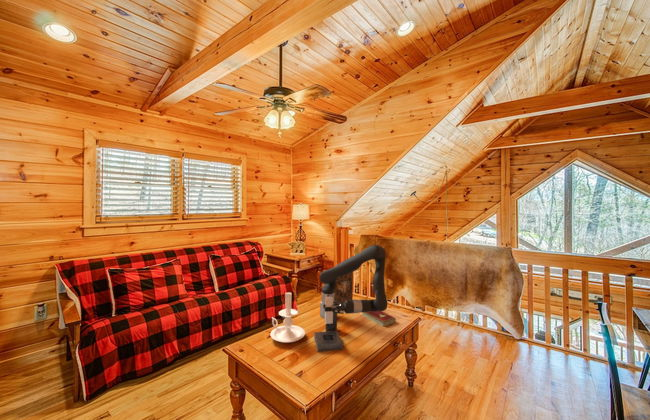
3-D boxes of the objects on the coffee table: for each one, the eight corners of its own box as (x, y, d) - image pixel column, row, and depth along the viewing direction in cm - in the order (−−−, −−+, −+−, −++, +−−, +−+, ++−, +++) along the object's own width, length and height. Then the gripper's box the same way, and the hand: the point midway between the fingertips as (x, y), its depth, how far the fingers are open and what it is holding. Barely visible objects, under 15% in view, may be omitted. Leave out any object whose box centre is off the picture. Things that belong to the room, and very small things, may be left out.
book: (331, 303, 219) (332, 272, 218) (332, 300, 225) (333, 270, 224) (352, 304, 217) (353, 273, 216) (352, 301, 223) (353, 271, 222)
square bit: (325, 323, 154) (326, 299, 154) (324, 320, 158) (325, 297, 158) (332, 323, 155) (333, 299, 155) (331, 320, 159) (331, 296, 159)
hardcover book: (373, 312, 204) (373, 306, 204) (395, 323, 187) (395, 317, 187) (361, 316, 197) (361, 310, 197) (383, 327, 180) (383, 321, 180)
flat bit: (326, 331, 172) (326, 310, 172) (325, 329, 175) (325, 308, 174) (336, 330, 174) (337, 309, 173) (336, 328, 176) (336, 308, 175)
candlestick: (283, 324, 180) (284, 283, 179) (312, 337, 165) (313, 291, 164) (258, 336, 164) (259, 291, 163) (287, 351, 149) (288, 301, 148)
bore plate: (317, 351, 149) (317, 344, 149) (314, 338, 163) (314, 332, 163) (342, 349, 152) (342, 342, 151) (337, 337, 165) (337, 330, 165)
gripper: (350, 295, 166) (322, 297, 163) (356, 304, 152) (326, 306, 149) (349, 307, 166) (321, 309, 163) (356, 318, 152) (326, 319, 149)
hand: (324, 307), depth 156 cm, fingers closed on square bit, 4 cm apart
